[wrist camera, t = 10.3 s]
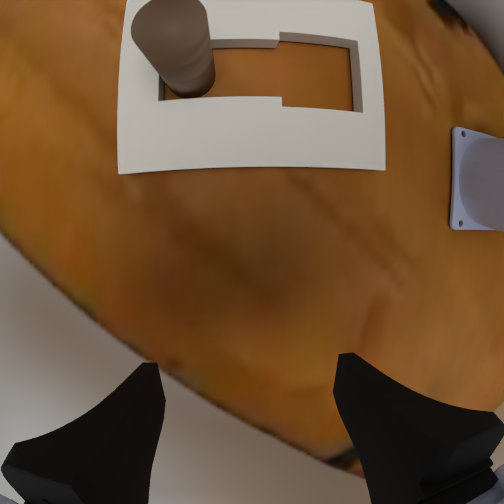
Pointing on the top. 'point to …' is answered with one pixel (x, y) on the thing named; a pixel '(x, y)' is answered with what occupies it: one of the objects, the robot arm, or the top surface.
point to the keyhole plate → (255, 107)
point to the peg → (177, 44)
